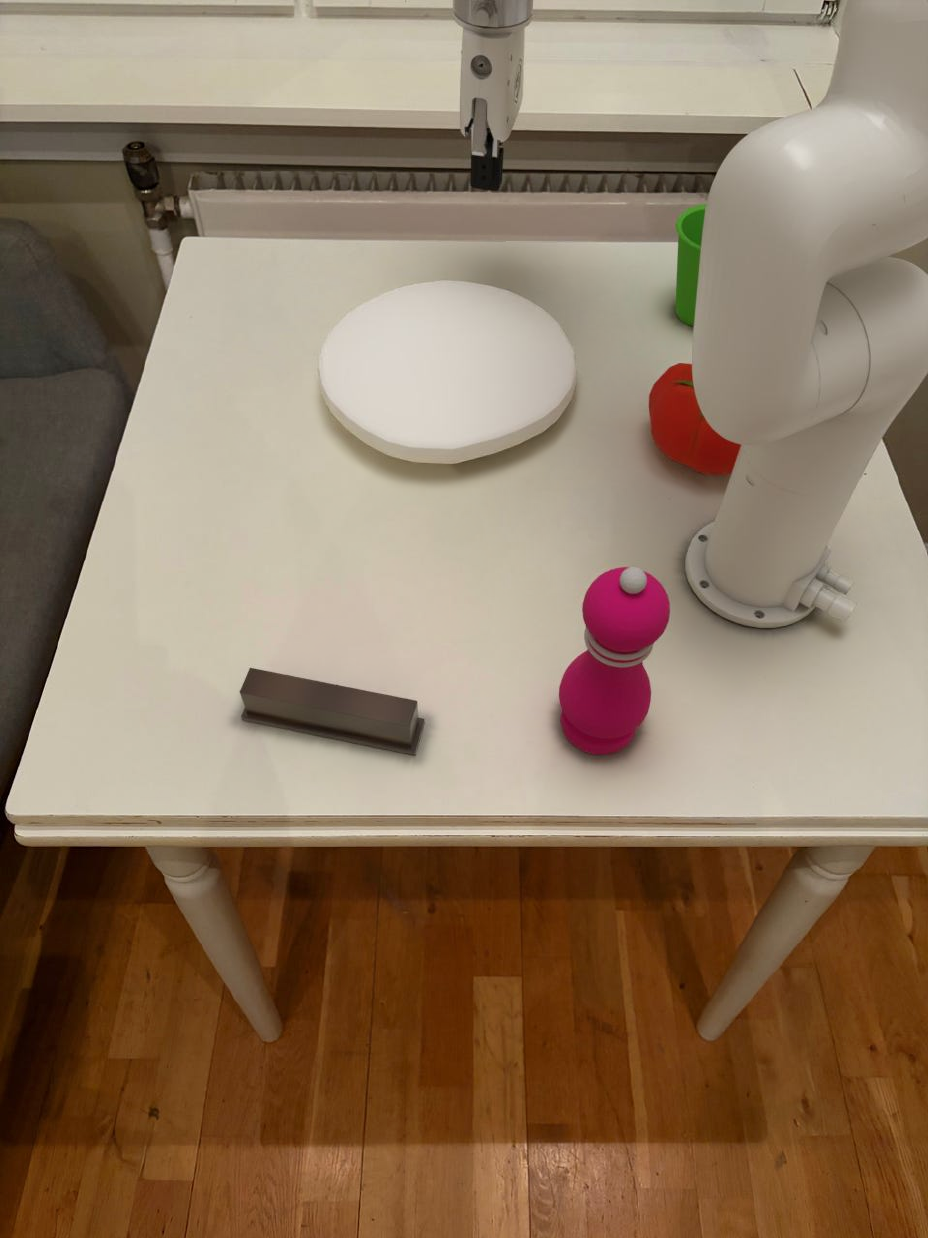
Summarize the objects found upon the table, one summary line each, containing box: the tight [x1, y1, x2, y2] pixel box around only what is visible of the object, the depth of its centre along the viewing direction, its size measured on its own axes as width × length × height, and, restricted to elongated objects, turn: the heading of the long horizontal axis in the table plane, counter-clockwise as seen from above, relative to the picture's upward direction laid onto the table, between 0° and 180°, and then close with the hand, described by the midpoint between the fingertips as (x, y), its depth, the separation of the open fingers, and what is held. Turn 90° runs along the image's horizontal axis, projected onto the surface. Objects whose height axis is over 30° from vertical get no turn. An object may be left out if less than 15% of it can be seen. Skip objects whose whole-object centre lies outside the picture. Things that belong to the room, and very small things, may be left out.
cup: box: [674, 203, 707, 327], centre depth 106 cm, size 9×9×11 cm
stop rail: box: [239, 667, 426, 756], centre depth 77 cm, size 15×3×4 cm, turn 77°
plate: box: [317, 279, 578, 465], centre depth 100 cm, size 28×6×27 cm
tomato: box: [648, 362, 741, 476], centre depth 94 cm, size 13×12×8 cm
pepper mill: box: [558, 566, 671, 756], centre depth 70 cm, size 7×7×20 cm
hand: (486, 185), depth 103 cm, fingers closed
